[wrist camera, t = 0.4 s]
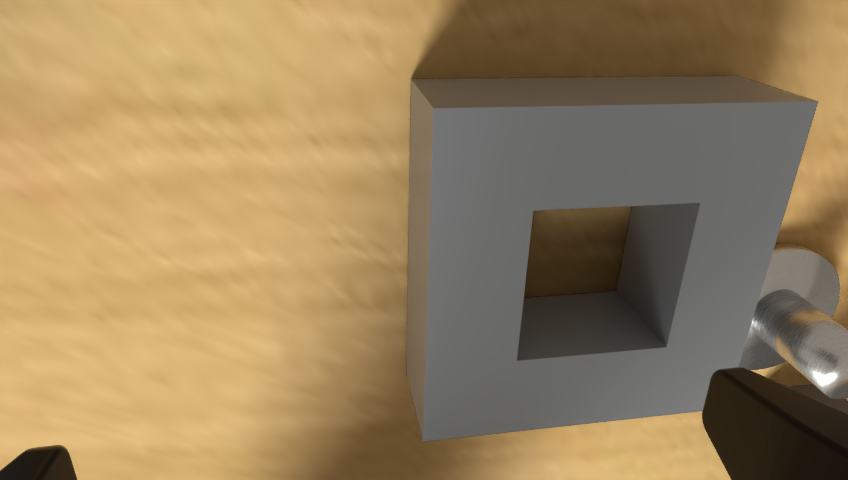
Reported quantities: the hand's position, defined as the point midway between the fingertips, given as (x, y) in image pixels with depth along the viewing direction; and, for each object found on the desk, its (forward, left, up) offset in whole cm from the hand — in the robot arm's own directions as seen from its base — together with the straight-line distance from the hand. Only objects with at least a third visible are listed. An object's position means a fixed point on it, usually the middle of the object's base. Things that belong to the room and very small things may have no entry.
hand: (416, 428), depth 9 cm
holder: (-4, -8, -14) cm, 17 cm away
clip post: (-8, -18, -14) cm, 24 cm away
